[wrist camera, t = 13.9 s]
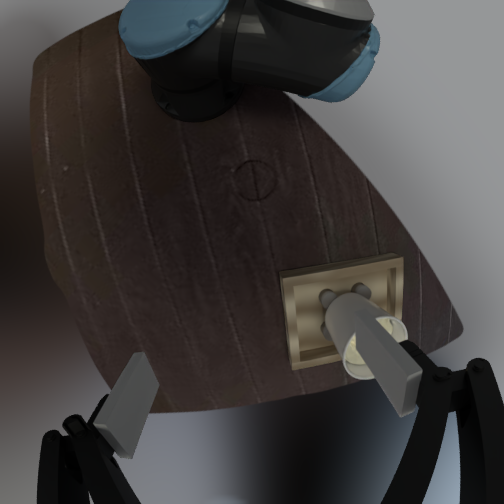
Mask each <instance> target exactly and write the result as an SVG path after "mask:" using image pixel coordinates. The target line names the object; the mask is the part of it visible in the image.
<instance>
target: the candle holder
mask: <svg viewBox="0 0 504 504" xmlns="http://www.w3.org/2000/svg"><path fill="white" fill-rule="evenodd" d="M365 308H366V309H367V310H368V312H369V313H370V314H371V315H372V316H373V317H374V318H375V319H376V320H377V321H378V322H379V323H380V324H381V325H382V326H383V327H384V328H385V329H386V330H387V331H388V332H389V334H390V335H391V336H392V337H393V338H394V339H395V340H396V341H397V342H398V343H399V342H402V341H404V340H408V335H407V330H406V327H405V325H404V324H403V322H402V321H401V320H399V319H398V318H396V317H394V316H392V315H391V314H390V313H388V312H387V311H385V310H384V309H382V308H381V307H379V306H378V305H376V304H375V303H373V302H372V301H370V300H369V299H367V298H366V297H364V296H363V295H361V294H358V293H346V294H343V295H340V296H339V297H337V298H336V299H335V300H334V301H333V302H332V303H331V304H330V305H329V307H328V309H327V311H326V315H325V324H326V328H327V330H328V332H329V334H330V337H331V339H332V341H333V343H334V345H335V347H336V349H337V351H338V353H339V355H340V358H341V360H342V362H343V365H344V367H345V369H346V371H347V372H348V373H349V374H350V375H351V376H353V377H355V378H357V379H372V378H375V377H374V375H373V374H372V372H371V371H370V369H369V368H368V366H367V365H366V363H365V362H364V360H363V359H362V357H361V356H360V354H359V353H358V351H357V350H356V337H355V318H354V312H355V311H358V310H362V309H365Z"/></svg>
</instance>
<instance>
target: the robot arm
mask: <svg viewBox="0 0 504 504" xmlns="http://www.w3.org/2000/svg"><path fill="white" fill-rule="evenodd" d="M373 17H374V12H373V10H372V8H371V7H370V5H369V3H368V1H367V0H130V1H129V2H128V4H127V5H126V7H125V8H124V10H123V12H122V14H121V17H120V20H119V33H120V36H121V38H122V40H123V41H124V43H125V45H126V48H127V50H128V52H129V53H130V54H131V55H132V56H133V57H134V58H135V59H136V61H137V62H138V63H139V64H140V65H141V66H142V68H143V69H144V70H145V71H146V72H147V73H148V75H149V76H150V77H151V88H152V93H153V96H154V99H155V101H156V102H157V104H158V105H159V106H160V107H161V108H162V110H163V111H164V112H165V113H167V114H168V115H170V116H171V117H173V118H175V119H178V120H181V121H186V122H201V121H206V120H210V119H213V118H215V117H217V116H219V115H221V114H223V113H224V112H226V111H227V110H229V109H230V108H231V107H232V106H233V105H234V104H235V103H236V101H237V100H238V98H239V97H240V95H241V93H242V90H243V86H244V83H245V84H251V85H257V86H262V87H267V88H272V89H276V90H281V91H285V92H289V93H293V94H297V95H298V96H300V97H302V98H313V99H318V100H321V101H326V102H339V101H343V100H345V99H347V98H348V97H350V96H351V95H352V94H354V93H355V92H356V91H357V90H358V88H359V87H360V86H361V85H362V84H363V82H364V81H365V80H366V78H367V77H368V75H369V73H370V71H371V69H372V67H373V65H374V63H375V61H374V57H375V56H376V55H377V53H378V51H379V46H380V35H379V32H378V31H377V28H376V27H375V26H374V25H373V24H372V23H371V22H372V20H373ZM354 318H355V337H356V350H357V351H358V353H359V354H360V356H361V357H362V359H363V360H364V362H365V363H366V365H367V366H368V368H369V369H370V371H371V372H372V374H373V375H374V377H375V378H376V380H377V382H378V383H379V385H380V386H381V387H382V389H383V391H384V392H385V394H386V395H387V397H388V399H389V400H390V402H391V403H392V405H393V406H394V408H395V410H396V411H397V413H398V415H399V416H400V417H403V416H405V415H407V414H410V413H412V412H414V410H415V405H416V404H417V406H418V407H419V410H418V413H417V417H416V420H415V423H414V426H413V429H412V432H411V435H410V438H409V441H408V443H407V446H406V449H405V451H404V454H403V456H402V459H401V461H400V464H399V466H398V468H397V471H396V473H395V475H394V478H393V480H392V482H391V484H390V486H389V488H388V490H387V492H386V494H385V496H384V498H383V500H382V502H381V504H422V502H423V499H424V497H425V494H426V492H427V489H428V486H429V483H430V481H431V478H432V474H433V472H434V469H435V465H436V462H437V459H438V455H439V452H440V448H441V444H442V440H443V436H444V432H445V427H446V422H447V417H448V413H449V412H454V411H456V416H457V425H458V434H459V448H460V477H461V478H460V504H504V404H503V401H502V397H501V394H500V391H499V388H498V385H497V382H496V379H495V376H494V373H493V370H492V368H491V365H490V363H489V362H488V361H487V360H485V359H482V358H475V359H472V360H471V361H469V362H468V364H467V367H466V369H464V370H459V371H454V372H452V371H451V370H450V369H448V368H446V367H437V366H436V365H435V364H434V363H433V362H432V361H431V360H430V359H429V358H428V357H427V356H426V354H425V353H423V351H422V350H421V349H419V347H418V346H417V345H416V344H415V343H413V342H410V341H408V340H404V341H402V342H399V343H398V342H397V341H396V340H395V339H394V338H393V337H392V336H391V335H390V334H389V332H388V331H387V330H386V329H385V328H384V327H383V326H382V325H381V324H380V323H379V322H378V321H377V320H376V319H375V318H374V317H373V316H372V315H371V314H370V313H369V312H368V310H367V309H366V308H365V309H362V310H358V311H355V312H354ZM158 387H159V383H158V381H157V379H156V377H155V375H154V372H153V370H152V368H151V366H150V364H149V362H148V359H147V357H146V355H145V353H144V352H139V353H134V354H133V356H132V357H131V359H130V360H129V362H128V364H127V365H126V367H125V369H124V370H123V372H122V374H121V375H120V377H119V379H118V381H117V382H116V384H115V386H114V387H113V389H112V391H111V392H110V394H106V395H105V396H104V397H103V398H102V399H101V400H100V402H99V403H98V406H97V407H96V408H95V411H94V412H93V413H92V415H91V417H90V419H89V420H88V422H87V423H86V422H85V421H84V419H83V418H82V416H81V415H78V414H74V415H71V416H69V417H67V418H66V419H65V420H64V422H63V424H62V426H63V428H64V429H65V431H66V432H67V433H68V436H62V435H61V434H60V433H59V431H57V430H50V431H48V432H47V433H45V435H44V436H43V439H42V445H41V452H40V460H39V470H38V483H37V504H90V500H89V493H90V495H91V498H92V500H93V502H94V504H141V503H140V501H139V500H138V498H137V497H136V495H135V493H134V492H133V490H132V488H131V487H130V485H129V483H128V482H127V480H126V478H125V477H124V474H123V473H122V471H121V469H120V467H119V465H118V463H117V461H116V460H115V458H114V457H113V454H114V451H115V452H116V453H117V455H118V456H119V457H120V458H128V459H132V458H133V455H134V452H135V449H136V446H137V444H138V441H139V438H140V435H141V433H142V430H143V427H144V424H145V422H146V419H147V416H148V414H149V411H150V408H151V406H152V403H153V400H154V398H155V395H156V393H157V390H158Z"/></svg>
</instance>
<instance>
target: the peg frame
mask: <svg viewBox="0 0 504 504" xmlns="http://www.w3.org/2000/svg"><path fill="white" fill-rule="evenodd" d="M279 275H280V283H281V292H282V300H283V309H284V317H285V326H286V335H287V345H288V354H289V360H290V364H291V367H292V370H297V369H302V368H307V367H312V366H317V365H322V364H326V363H331V362H335V361H339V360H341V358H340V355H339V353H338V351H337V349H336V347H335V345H334V343H333V341H332V339H331V337H330V334H329V332H328V330H327V328H326V324H325V315H326V311H327V309H328V307H329V305H330V304H331V303H332V302H333V301H334V300H335V299H336V298H337V297H339V296H340V295H343V294H346V293H358V294H361V295H363V296H364V297H366V298H367V299H369V300H370V301H372V302H373V303H375V304H376V305H378V306H379V307H381V308H382V309H384V310H385V311H387V312H388V313H390V314H391V315H392V316H394V317H396V318H398V319H399V320H401V317H402V300H403V257H402V256H399V255H397V254H394V253H386V254H381V255H375V256H370V257H364V258H358V259H353V260H347V261H341V262H335V263H329V264H323V265H317V266H311V267H305V268H299V269H292V270H286V271H280V272H279Z"/></svg>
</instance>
